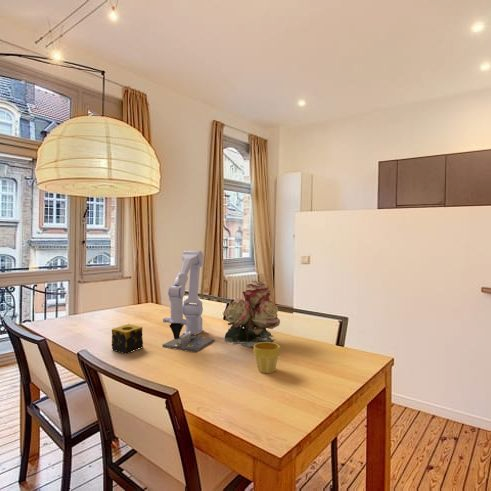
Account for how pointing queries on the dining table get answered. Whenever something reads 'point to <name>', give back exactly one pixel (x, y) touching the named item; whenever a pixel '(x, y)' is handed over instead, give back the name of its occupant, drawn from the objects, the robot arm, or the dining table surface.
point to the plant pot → (266, 356)
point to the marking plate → (190, 343)
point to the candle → (127, 338)
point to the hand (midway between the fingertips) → (176, 338)
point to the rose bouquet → (251, 316)
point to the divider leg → (185, 337)
